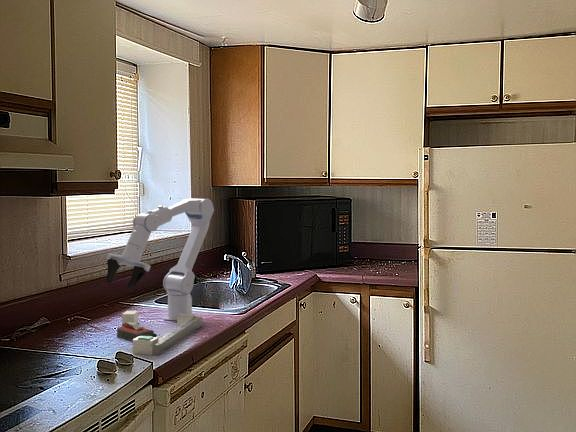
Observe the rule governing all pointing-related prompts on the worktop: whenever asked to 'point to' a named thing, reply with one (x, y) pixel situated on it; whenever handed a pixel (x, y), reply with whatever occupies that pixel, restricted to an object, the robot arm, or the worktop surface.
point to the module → (130, 317)
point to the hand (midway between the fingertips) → (118, 286)
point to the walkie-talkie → (133, 331)
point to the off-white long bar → (167, 336)
